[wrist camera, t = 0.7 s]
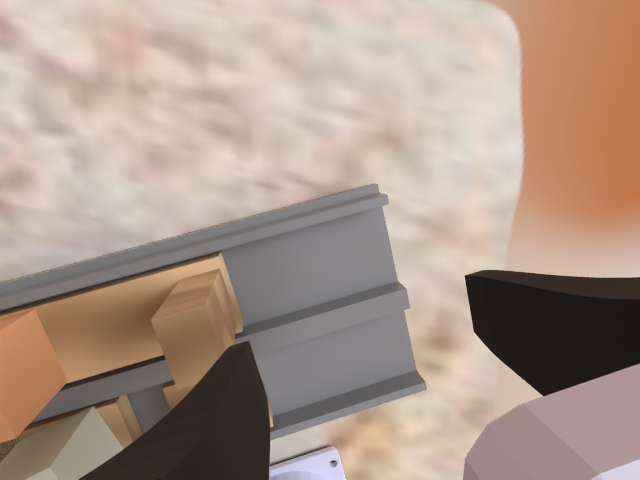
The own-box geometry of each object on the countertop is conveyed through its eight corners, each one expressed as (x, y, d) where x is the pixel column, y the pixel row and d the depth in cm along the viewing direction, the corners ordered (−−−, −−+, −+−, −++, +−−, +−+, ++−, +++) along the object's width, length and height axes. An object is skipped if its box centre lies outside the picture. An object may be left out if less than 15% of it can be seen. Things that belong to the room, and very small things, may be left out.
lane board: (414, 373, 24) (427, 390, 22) (61, 486, 22) (42, 516, 20) (374, 183, 21) (385, 185, 19) (-36, 292, 19) (-69, 306, 17)
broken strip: (272, 412, 22) (276, 506, 16) (61, 480, 21) (-22, 608, 15) (252, 350, 21) (248, 424, 15) (30, 417, 20) (-72, 527, 14)
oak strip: (243, 322, 21) (235, 386, 14) (15, 388, 19) (-96, 489, 13) (220, 251, 20) (202, 289, 14) (-20, 316, 18) (-157, 390, 12)
